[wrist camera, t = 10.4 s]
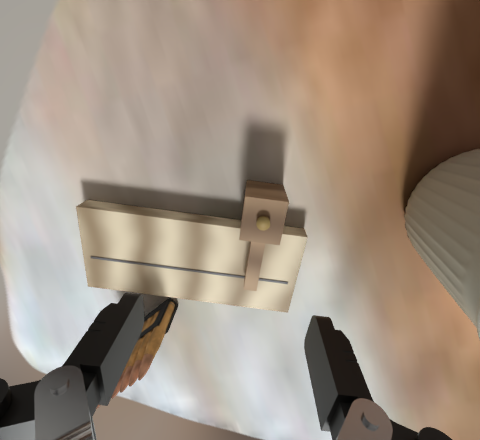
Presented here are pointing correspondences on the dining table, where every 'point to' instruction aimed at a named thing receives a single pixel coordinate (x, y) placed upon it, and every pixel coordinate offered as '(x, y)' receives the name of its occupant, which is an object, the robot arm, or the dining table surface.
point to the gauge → (261, 224)
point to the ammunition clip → (147, 344)
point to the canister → (450, 228)
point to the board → (184, 256)
